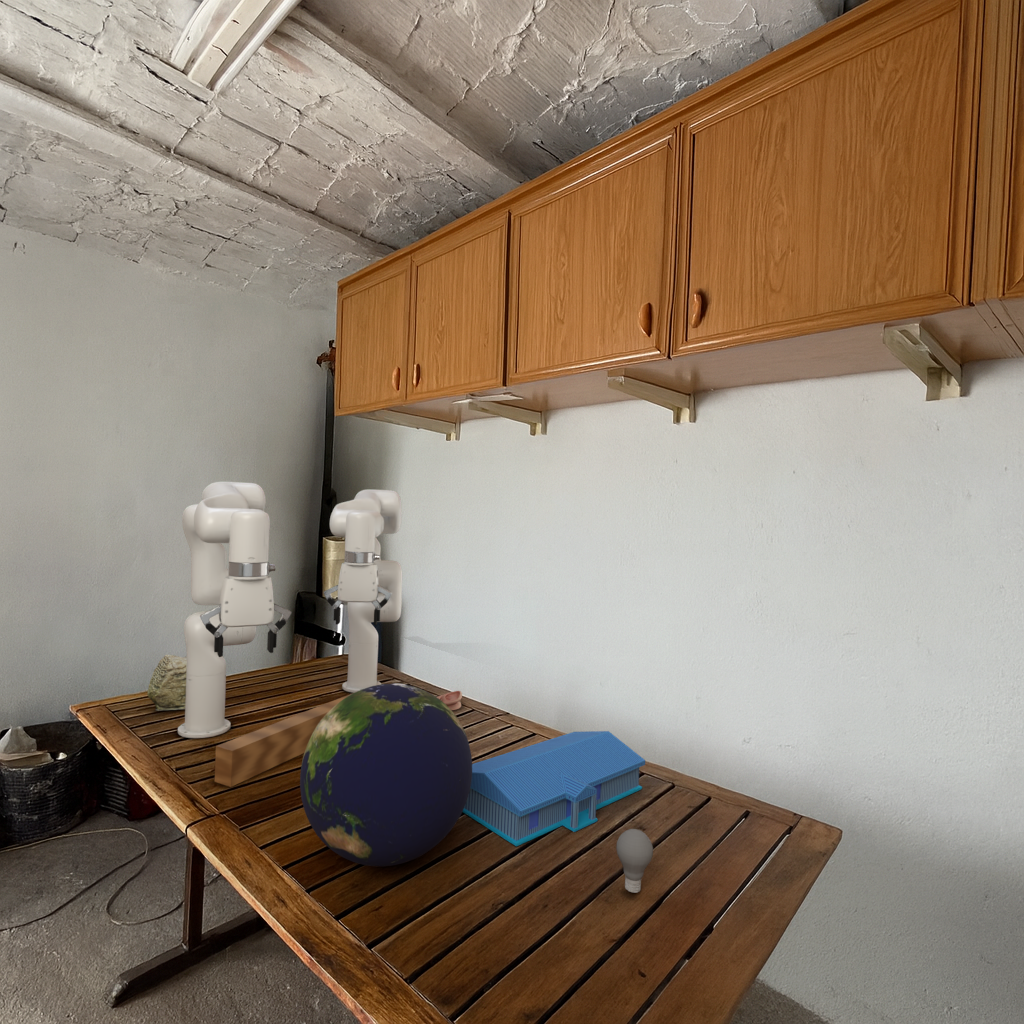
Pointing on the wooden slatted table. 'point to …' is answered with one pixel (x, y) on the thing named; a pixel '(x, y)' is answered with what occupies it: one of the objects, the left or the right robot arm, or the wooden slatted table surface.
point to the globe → (386, 775)
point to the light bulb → (634, 857)
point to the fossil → (169, 683)
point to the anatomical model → (451, 699)
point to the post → (267, 746)
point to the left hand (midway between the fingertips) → (245, 653)
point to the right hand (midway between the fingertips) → (356, 623)
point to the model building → (552, 784)
